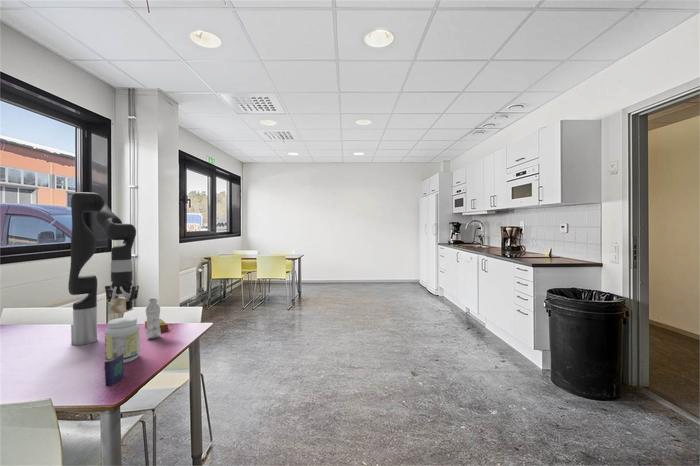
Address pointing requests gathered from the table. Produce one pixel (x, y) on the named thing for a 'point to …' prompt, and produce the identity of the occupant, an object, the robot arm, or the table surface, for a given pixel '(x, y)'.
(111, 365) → the flask
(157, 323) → the plastic bottle
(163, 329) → the carton
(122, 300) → the beech cube
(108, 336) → the supplement tub
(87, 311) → the robot arm
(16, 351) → the table surface
